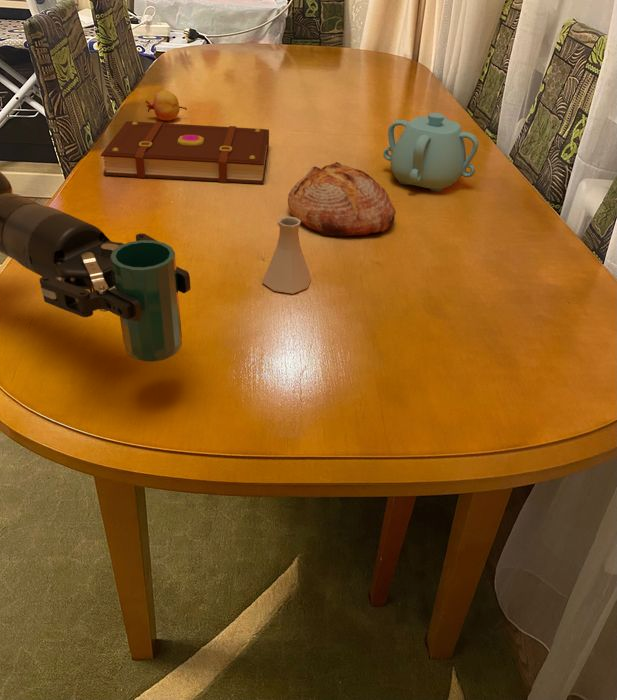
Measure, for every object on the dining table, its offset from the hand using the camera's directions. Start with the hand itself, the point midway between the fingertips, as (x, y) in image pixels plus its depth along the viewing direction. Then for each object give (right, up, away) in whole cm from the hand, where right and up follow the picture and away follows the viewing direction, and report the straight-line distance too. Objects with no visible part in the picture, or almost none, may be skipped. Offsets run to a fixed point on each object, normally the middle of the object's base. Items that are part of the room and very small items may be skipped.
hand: (163, 297), depth 60 cm
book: (-10, +35, +69) cm, 78 cm away
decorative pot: (+39, +30, +67) cm, 84 cm away
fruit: (-21, +52, +90) cm, 105 cm away
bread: (+20, +19, +50) cm, 57 cm away
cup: (-2, -5, +5) cm, 7 cm away
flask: (+11, +5, +31) cm, 34 cm away
